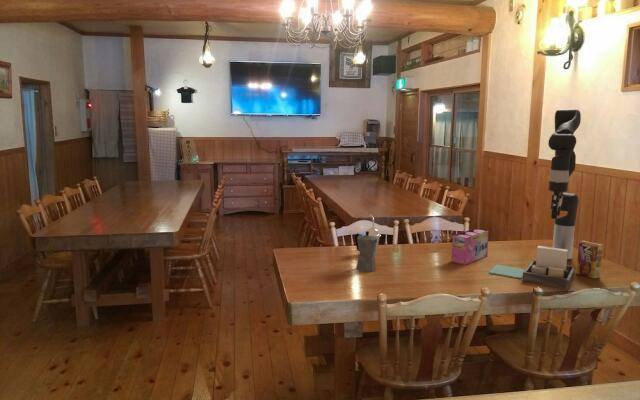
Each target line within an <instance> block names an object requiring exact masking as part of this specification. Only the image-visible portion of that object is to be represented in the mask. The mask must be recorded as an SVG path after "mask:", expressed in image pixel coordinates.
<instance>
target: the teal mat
mask: <svg viewBox="0 0 640 400" xmlns="http://www.w3.org/2000/svg"><path fill="white" fill-rule="evenodd" d="M525 269H526V268H525ZM525 269H524V268H519V267H513V266H506V265H502V264H496V265H494V266H493V267H492V268H491V269H490V270H489V271H488V274H489V275H490V274H491V275H497V276H501V277H505V278H506V277H507V278H513V279H519V280H523V272H524V270H525Z"/></svg>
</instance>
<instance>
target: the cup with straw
mask: <svg viewBox="0 0 640 400" xmlns="http://www.w3.org/2000/svg"><path fill="white" fill-rule="evenodd" d="M369 215H370V217H371V218H372V227H369V228H368V229H366V231H368V232H369V235H370V236H375V237H376V238H377V244H376V249H375V252H374V256H375V255H378V254H377V253H378V248H379V241H380V237H382V234H381V233H380V231H379V229H378V228H376V227H375V217H374V216H373V215H372V213H370V214H369ZM364 235H366V232H364Z"/></svg>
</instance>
